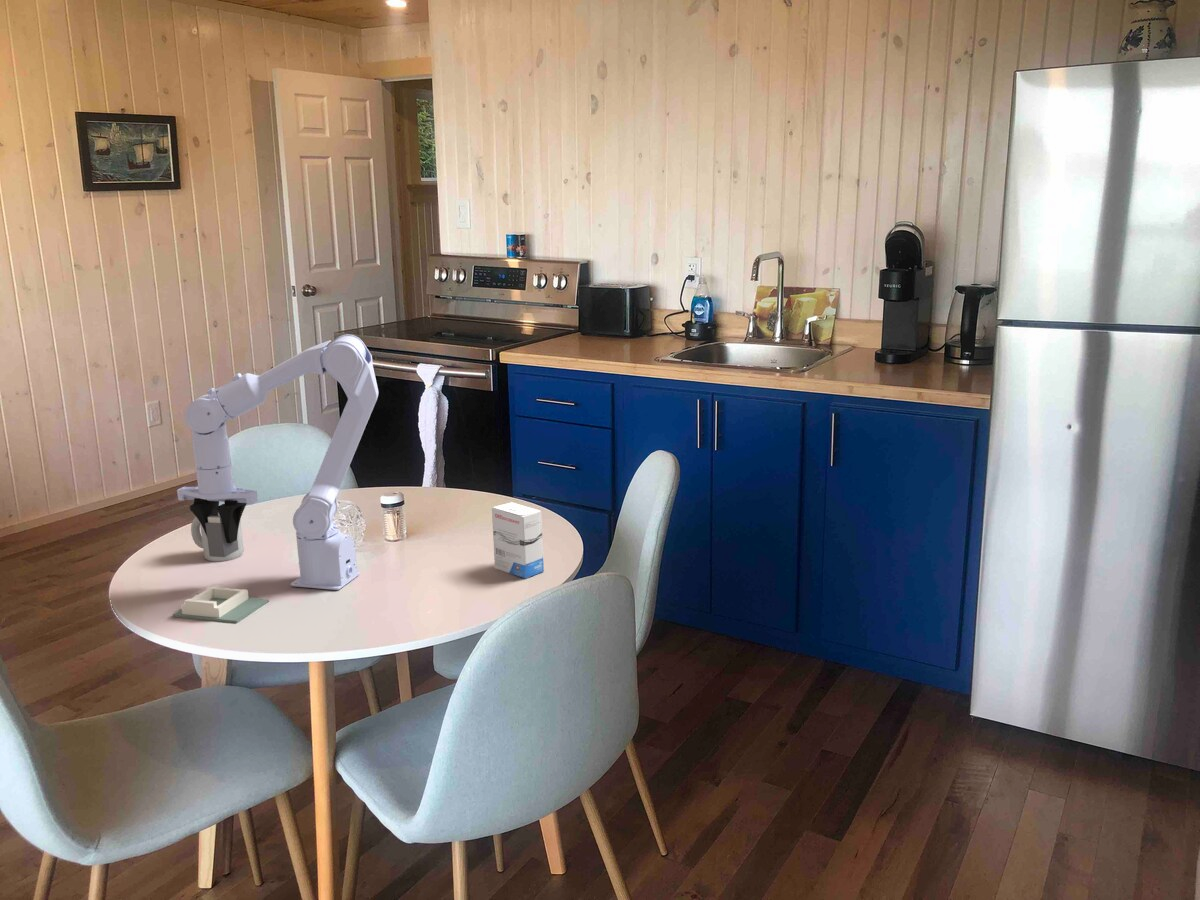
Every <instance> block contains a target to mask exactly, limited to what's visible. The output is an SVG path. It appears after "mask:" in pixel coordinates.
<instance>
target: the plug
mask: <svg viewBox="0 0 1200 900" xmlns="http://www.w3.org/2000/svg"><path fill="white" fill-rule="evenodd" d="M205 524H206V532H207V540H208V547H209V555H210V556H214V557H226V556H228V555H230V554H231V553H233V552H235V551H237V550H239V548H238V540H236V541H234V542H232V543H227V542H226V539H225V534H224V527H223V523H222V520H221V517H220V516H209V517H208V522H207V523H205Z"/></svg>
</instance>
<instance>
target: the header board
mask: <svg viewBox="0 0 1200 900" xmlns="http://www.w3.org/2000/svg"><path fill="white" fill-rule="evenodd" d="M267 603H269V599H268V598H259V597H249V591H248V589H242V588H241V589H240V588H231V587H230V588H228V587H219V586H211V587H209V588H207V589H206V590H204V591H202V592H200V593H197V594H196V595H193V596H192V597H190V598H187V599H185V600H184V602H183V603H182V604H180V607H181V609H179V610H177V611H176V612H174V613H172V615H171V616H172V618H182V619H189V620H190V619H191V620H200V621H201V620H202V621H203V620H204V621H212V622H213V621H214V622H220V623H221V622H223V623H225V622H226V623H231V624H232V623H233V624H238V623H239V622H240V621H242V620H244V619H245V618H246V617H248V616H250V615H251V614H253V613H254V612H256V610H258V609H260V608H261V607H263V606H264V605H266V604H267Z"/></svg>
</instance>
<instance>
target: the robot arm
mask: <svg viewBox="0 0 1200 900" xmlns="http://www.w3.org/2000/svg"><path fill="white" fill-rule="evenodd" d="M326 372H327V373H328V374H329V375H330V376H331V377H332V378H334V379H335V381H337V382H338V383H339V384H340V387H341V388H342V389H343V391H344V394H345V395H346V398H347V401H346V403H345V406H344V408H343V411H342V413H341V414H340V415H341V416H340V418H339V420H338V423H337V425H336V428H335V431H334V433H333V435H332V438H331V441H330V443H329V444H328V448H327V450H326V452H325V455H324V457H323V460H322V462H321V465H320V466H319V469H318V472H317V474H316V477H315V479H314V482H313V484H312V486H311V489H310V490H309V491H308V493H306V494H305V495H304V496H303V498H302V500H301V503H300V505H299V506H298V508H297V509H296V510H295V512H294V513H293V515H292V516H293V517H292V525H293V527H294V530H295V535H296V546H297V548H296V549H297V555H298V556H297V557H298V565H299V567H298V568H299V577H298V578H297V579H295V580H293V581H292V582H290V586H291V587H299V588H311V589H321V590H323V589H324V590H333V591H338V590H341V589H342V588H343V587H345V586H346V585H347V584H349V583H350V582H352V581H353V580H354V579H356V578H357V577H358V576H359V575H360V574H361V573H360V571H358V566H357V552H356V544H355V540H354V538H353V536H351V535H349V534H345V533H343V532H341V531H339V526H338V525H337V523H336V521H334V520H333V519H334V517H335V515H336V513H337V512H338V502H337V501H338V500H337V498H338V495H339V493H340V490H341V487H342V484H343V483H344V480H345V477H346V475H347V474H348V473H347V472H348V470H349V468H350V465H351V463H352V461H353V458H354V455H355V453H356V451H357V449H358V447H359V443H360V441H361V439H362V436H363V434H364V431H365V430H366V426H367V424H368V423H369V422H368V421H369V420H370V417H371V414H372V412H373V410H374V408H375V405H376V403H377V401H378V397H379V388H378V387H379V386H378V383H377V379H376V374H375V370H374V363H373V356H372V353H371V352H370V350H369V349H368V348H367V346H366V344H365V343H364V341H363V340H362V339H361V338H360V337H358V336H356V335H355V334H348V333H347V334H342V335H340V336H337V337H336V338H335V339H333V342H332V340H330V339H329V340H327V341H324V342H321V343H318V344H316V345H313V346H311V347H308V348H307V349H305V350H302V351H301V352H299V353H297V354H295V355H294V356H292V357H290V358H288V359H287V360H285V361H283V362H281V363H280V364H277V365H276V366H274V367H273V368H271V369H269V370H267V371H265V372H264V373H261V374H260V375H259V374H253V373H250V372H247V373H244V374H241V372H238V373H236V374H234V375H233V376H232V377H231V379H232V380H231V381H229V382H227V383H226V384H223V385H222V386H219V387H217V388H214V387H212V388H210V389H208V390H207V391H206V393H207V394H204V395H201V396H199V397H197V398H196V399H194V400H193V401H192V402H191V403H189V404H188V406H187V407H186V408H185V412H184V420H185V423H186V426H188V427H189V428H190V430H191V431H190V432H191V439H192V442H191V443H192V450H193V456H194V457H193V458H194V466H195V473H196V481H197V486H183V487H180V488H178V489H176V492H177V493H176V494H177V500H178V501H186V500H189V501H193V504H190V505H189V510H190V512H192V513H193V515H194V516H195V517H197V519H198V520H199V522H200V523H201V525H202V527H203V529H204V531H205V533H206V536H207V532H206V524H205V523H207V522H208V517H209V516H218V513H219V515H220V517H221V520H222V523H223V527H224V534H225V539H226V542H227V543H232V542H234V541H236V540H237V535H238V528H239V523H240V520H241V519H242V516H243V513H244V510H245V508H246V506H247V505H251V506H252V505H253V504H255V503H257V502H259V498H258V497H259V496H258V491H257V490H251V489H246V488H242V487H238V486H236V485H235V483H234V482H235V481H234V474H233V468H232V458H231V452H230V451H231V450H230V442H229V437H228V432H227V423H226V422H227V421H231V420H234V419H236V418H238V417H241V416H242V415H244V414H246V413H248V412H250V411H253V410H254V409H256V408H257V407H259V406H261V405H263V404H265V403H266V401H267V397H268V393H270V392H271V391H273V390H275V389H277V388H279V387H282V386H283V385H286V384H288V383H290V382H292V381H294V380H296V379H298V378H300V377H302V376H304V375H307V374H316V375H320V376H322V375H325V374H326ZM220 502H223V503H222V504H220Z"/></svg>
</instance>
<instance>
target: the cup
mask: <svg viewBox="0 0 1200 900" xmlns="http://www.w3.org/2000/svg"><path fill="white" fill-rule="evenodd" d="M218 516H220V515H219V513H218ZM190 525H191V527H190V532H191V533H190V534H191V537H192V538H191V539H192V540H193V542H194V544H195V545H196V546H197V547H199V548H201V549H203V550H202V551H203V555H204V559H206V560H207V561H210V562H214V563H215V562H218V563H219V562H227V561H232V560H235V559H237V558H241V556H243V554H244V551H245V547H244V539H243V531H242V521H241V519H240V523H239V528H238V535H237V540H238V548H239V550H237V551H235V552H233V553H231V554H230V555H228V556H226V557H214V556H210V555H209V547H208V540H207V536H206V533H205V531H204V529H203V527H202V525H201V523H200V522H199V520H198V519H197V517H196V516H195V517H194V518H193V520H192V522H191V524H190Z"/></svg>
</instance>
